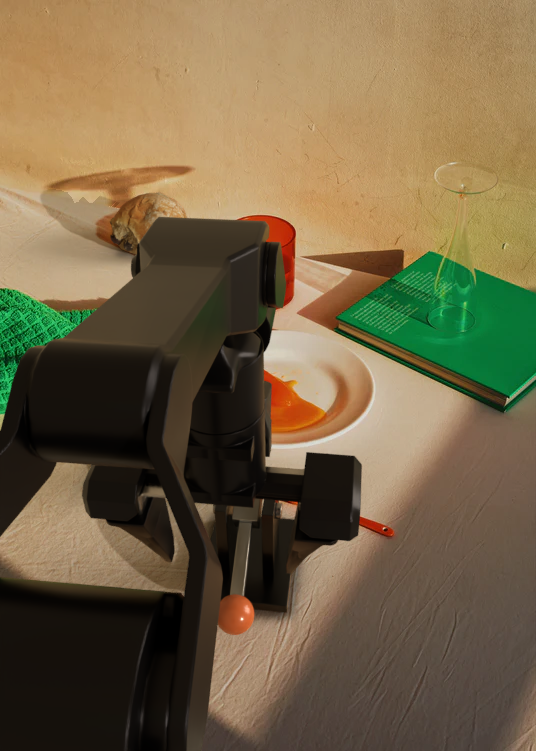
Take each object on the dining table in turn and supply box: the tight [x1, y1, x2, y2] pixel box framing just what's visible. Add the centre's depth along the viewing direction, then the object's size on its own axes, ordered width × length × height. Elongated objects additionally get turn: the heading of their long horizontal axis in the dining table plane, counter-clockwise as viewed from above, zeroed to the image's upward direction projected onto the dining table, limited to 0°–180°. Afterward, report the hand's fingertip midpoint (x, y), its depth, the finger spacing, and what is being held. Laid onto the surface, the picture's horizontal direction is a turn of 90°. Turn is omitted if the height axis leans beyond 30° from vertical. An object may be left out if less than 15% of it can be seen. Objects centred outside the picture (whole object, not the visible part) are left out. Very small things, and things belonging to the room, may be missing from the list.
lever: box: [218, 499, 264, 636], centre depth 62 cm, size 12×3×3 cm, turn 173°
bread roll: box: [109, 191, 188, 255], centre depth 119 cm, size 12×13×10 cm
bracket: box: [210, 499, 294, 614], centre depth 66 cm, size 10×8×9 cm
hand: (229, 562), depth 56 cm, fingers open, 9 cm apart
